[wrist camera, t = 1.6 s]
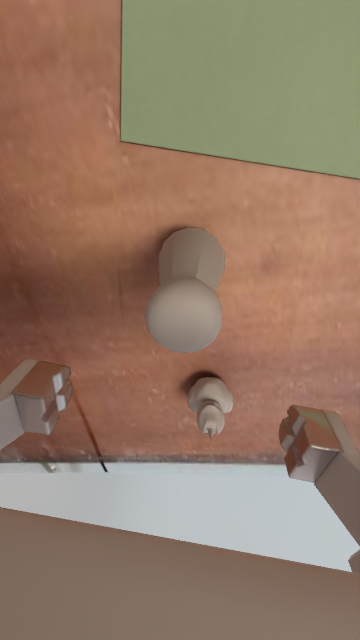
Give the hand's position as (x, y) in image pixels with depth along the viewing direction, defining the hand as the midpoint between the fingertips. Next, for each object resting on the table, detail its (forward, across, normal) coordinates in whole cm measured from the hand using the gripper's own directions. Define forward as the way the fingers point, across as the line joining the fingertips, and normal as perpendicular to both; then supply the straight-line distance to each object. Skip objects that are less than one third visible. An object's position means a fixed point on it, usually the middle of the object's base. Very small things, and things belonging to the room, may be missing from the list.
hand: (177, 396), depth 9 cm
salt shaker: (+18, 0, 0) cm, 18 cm away
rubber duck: (+18, -4, +17) cm, 25 cm away
